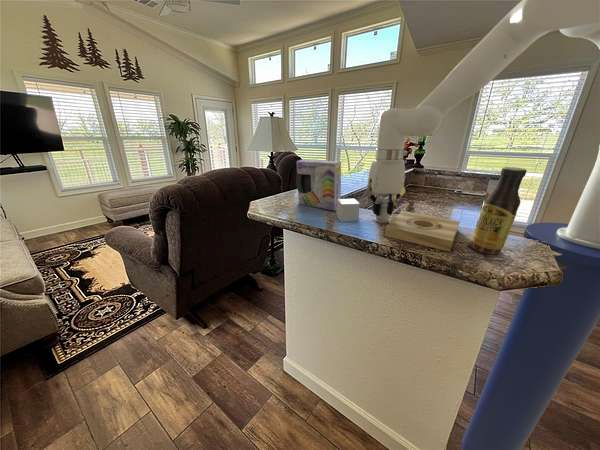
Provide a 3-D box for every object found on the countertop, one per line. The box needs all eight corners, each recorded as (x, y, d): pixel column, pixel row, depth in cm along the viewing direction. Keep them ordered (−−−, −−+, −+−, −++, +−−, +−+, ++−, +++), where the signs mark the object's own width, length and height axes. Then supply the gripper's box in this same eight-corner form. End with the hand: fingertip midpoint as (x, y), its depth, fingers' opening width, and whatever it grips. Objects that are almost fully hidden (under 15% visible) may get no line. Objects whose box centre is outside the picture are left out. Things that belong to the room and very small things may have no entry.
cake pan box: (295, 203, 98) (294, 159, 91) (303, 200, 101) (303, 158, 95) (333, 212, 86) (335, 163, 79) (341, 209, 89) (343, 161, 83)
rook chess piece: (371, 220, 77) (373, 197, 74) (379, 217, 80) (382, 195, 77) (383, 224, 74) (386, 200, 71) (391, 221, 76) (394, 197, 73)
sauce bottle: (463, 246, 60) (485, 166, 52) (481, 242, 61) (504, 165, 54) (490, 258, 54) (519, 171, 46) (509, 253, 56) (539, 169, 48)
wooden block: (400, 219, 78) (402, 210, 77) (457, 230, 69) (459, 220, 68) (384, 236, 66) (385, 226, 65) (449, 251, 57) (452, 240, 56)
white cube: (340, 221, 77) (341, 204, 75) (336, 215, 83) (337, 199, 81) (358, 220, 78) (359, 203, 76) (353, 214, 83) (354, 198, 81)
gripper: (408, 153, 73) (400, 209, 80) (357, 155, 72) (353, 212, 78) (423, 155, 67) (412, 216, 73) (367, 157, 65) (362, 219, 72)
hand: (382, 213), depth 76 cm, fingers closed on rook chess piece, 3 cm apart
